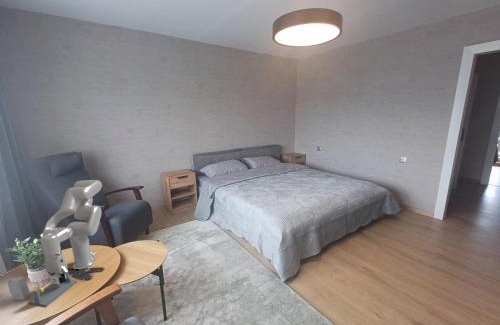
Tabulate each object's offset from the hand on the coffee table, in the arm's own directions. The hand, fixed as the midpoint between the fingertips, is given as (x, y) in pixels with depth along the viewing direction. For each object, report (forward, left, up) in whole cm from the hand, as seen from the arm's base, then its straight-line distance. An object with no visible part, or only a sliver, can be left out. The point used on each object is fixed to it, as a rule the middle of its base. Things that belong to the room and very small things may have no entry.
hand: (59, 281), depth 133 cm
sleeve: (0, 0, 0) cm, 0 cm away
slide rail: (+4, 0, -4) cm, 6 cm away
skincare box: (+10, -15, -5) cm, 19 cm away
